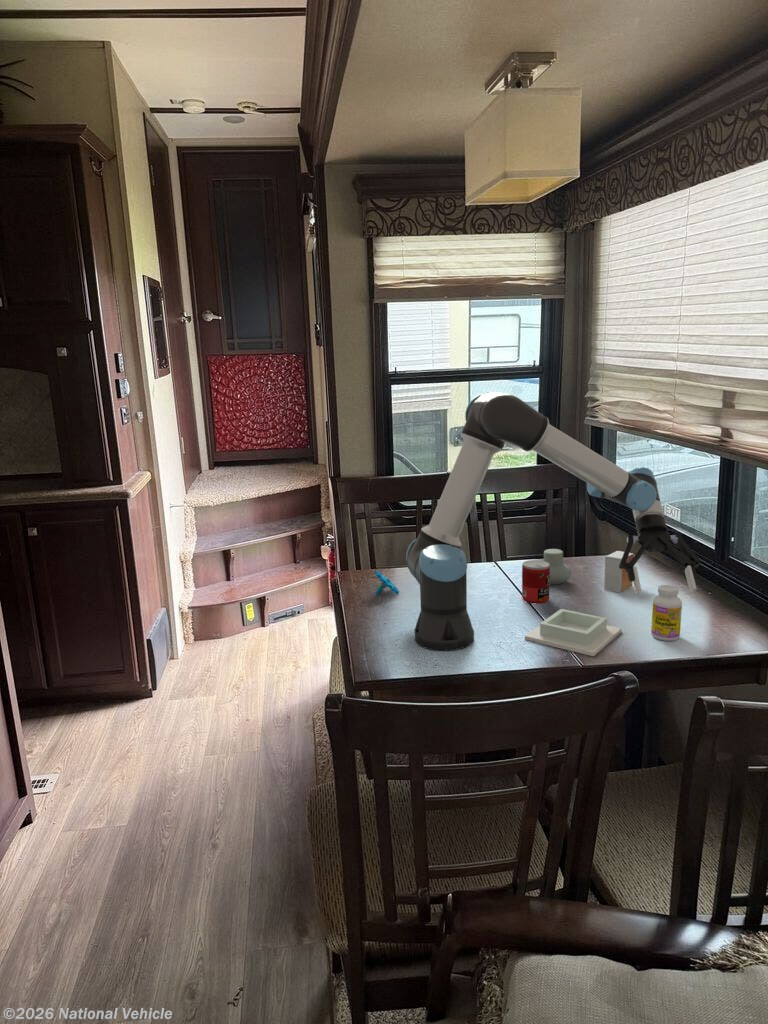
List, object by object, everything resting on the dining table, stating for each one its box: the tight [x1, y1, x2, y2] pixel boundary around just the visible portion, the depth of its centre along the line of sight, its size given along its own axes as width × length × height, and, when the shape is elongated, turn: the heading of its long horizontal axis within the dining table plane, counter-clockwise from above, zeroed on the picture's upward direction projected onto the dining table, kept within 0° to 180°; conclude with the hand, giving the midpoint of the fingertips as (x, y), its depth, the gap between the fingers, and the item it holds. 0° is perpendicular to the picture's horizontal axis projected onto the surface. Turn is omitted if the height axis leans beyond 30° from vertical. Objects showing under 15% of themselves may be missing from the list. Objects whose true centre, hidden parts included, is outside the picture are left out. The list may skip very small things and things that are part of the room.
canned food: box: [521, 559, 551, 605], centre depth 200 cm, size 8×8×11 cm
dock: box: [524, 608, 622, 657], centre depth 174 cm, size 18×18×4 cm
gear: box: [373, 570, 400, 596], centre depth 211 cm, size 11×6×10 cm
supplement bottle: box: [650, 584, 683, 642], centre depth 171 cm, size 7×7×13 cm
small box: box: [603, 550, 635, 593], centre depth 208 cm, size 8×6×10 cm
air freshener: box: [543, 548, 572, 585], centre depth 216 cm, size 11×8×10 cm
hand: (665, 591), depth 174 cm, fingers open, 13 cm apart
